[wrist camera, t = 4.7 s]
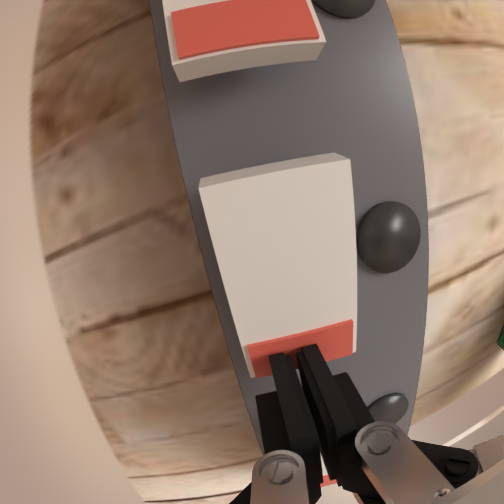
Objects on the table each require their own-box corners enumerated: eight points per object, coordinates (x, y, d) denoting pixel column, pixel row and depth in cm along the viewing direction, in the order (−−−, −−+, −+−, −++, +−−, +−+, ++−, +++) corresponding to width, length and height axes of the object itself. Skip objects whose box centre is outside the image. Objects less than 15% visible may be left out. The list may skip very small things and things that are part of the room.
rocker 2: (327, 149, 9) (352, 160, 8) (340, 323, 13) (357, 354, 11) (201, 173, 9) (198, 189, 8) (245, 345, 12) (251, 381, 11)
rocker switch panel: (319, -58, 10) (342, -99, 6) (382, 417, 20) (404, 456, 16) (154, -40, 10) (138, -84, 6) (268, 449, 20) (276, 494, 16)
